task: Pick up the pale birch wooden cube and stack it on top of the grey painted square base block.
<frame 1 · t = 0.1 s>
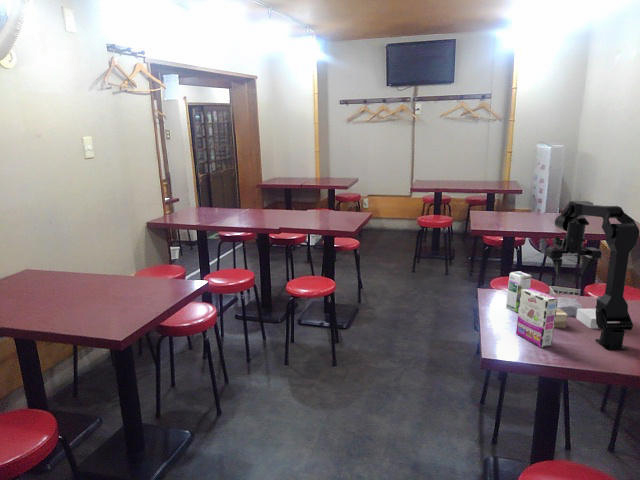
hand: (569, 274, 169), 15 cm above the table, tool pointing down, fingers open, 9 cm apart
syrup box: (516, 309, 175), on the table
stone block: (564, 311, 174), on the table
base block: (595, 323, 162), on the table
candy bar box: (533, 340, 150), on the table
birch cube: (555, 324, 161), on the table
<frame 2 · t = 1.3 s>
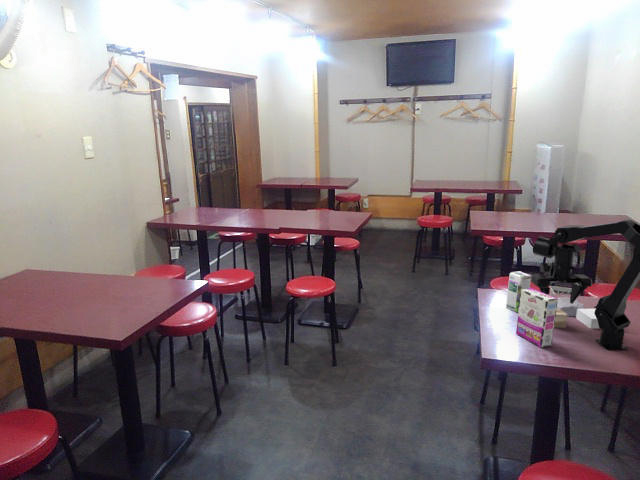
hand: (558, 303, 159), 8 cm above the table, tool pointing down, fingers open, 9 cm apart
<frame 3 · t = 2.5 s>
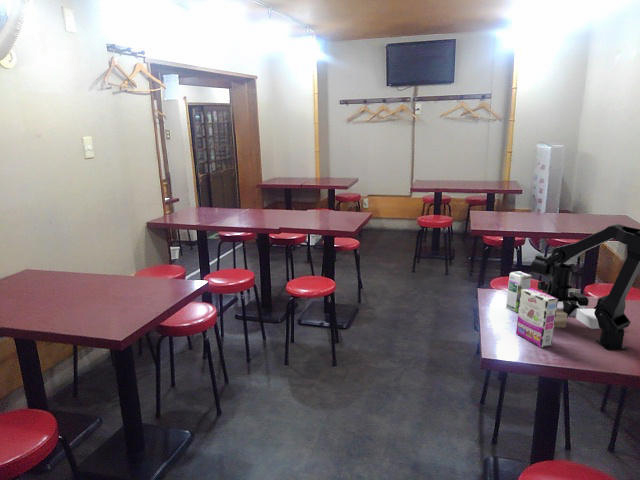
hand: (555, 321, 161), 1 cm above the table, tool pointing down, fingers closed on birch cube, 5 cm apart
birch cube: (555, 324, 161), on the table, touching gripper
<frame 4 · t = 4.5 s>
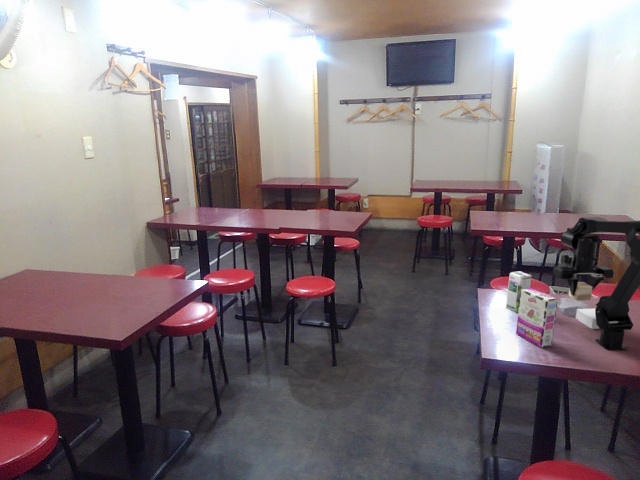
hand: (580, 295, 159), 11 cm above the table, tool pointing down, fingers closed on birch cube, 5 cm apart
birch cube: (579, 297, 159), point 10 cm above the table, touching gripper
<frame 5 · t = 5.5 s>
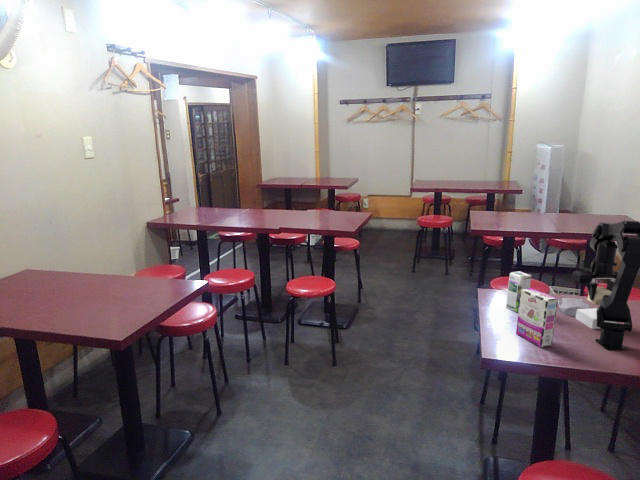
hand: (598, 299, 160), 9 cm above the table, tool pointing down, fingers closed on birch cube, 5 cm apart
birch cube: (598, 302, 160), point 8 cm above the table, touching gripper
when the fingers open (6 cm above the table, at t = 6.5 s): birch cube drops 1 cm, resting on base block.
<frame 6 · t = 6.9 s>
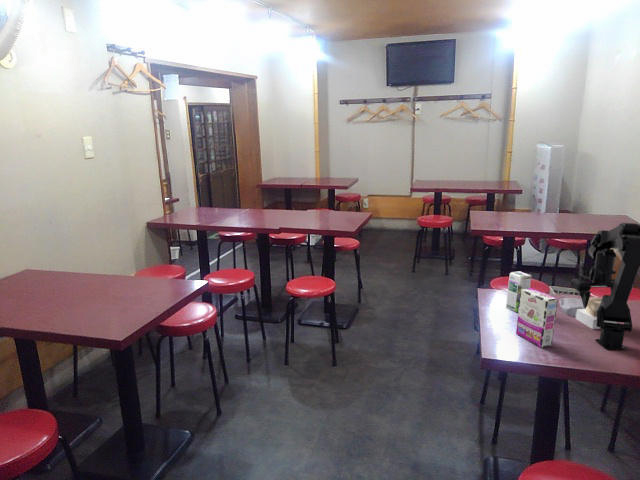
hand: (597, 307, 161), 6 cm above the table, tool pointing down, fingers open, 9 cm apart
base block: (595, 324, 162), on the table, touching birch cube
birch cube: (596, 313, 161), point 4 cm above the table, touching base block
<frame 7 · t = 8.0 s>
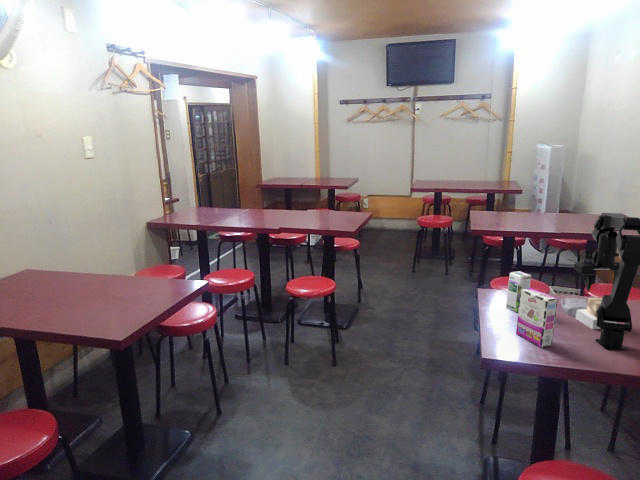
hand: (600, 290, 160), 12 cm above the table, tool pointing down, fingers open, 9 cm apart
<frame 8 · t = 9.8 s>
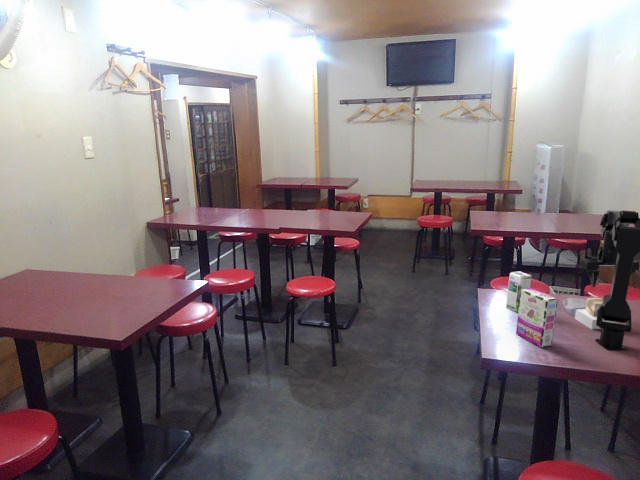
hand: (605, 286, 164), 12 cm above the table, tool pointing down, fingers open, 9 cm apart
at the end: birch cube 0.3 cm off-centre on the base block, point 4.0 cm above the base block's base; birch cube tilted 0°; the gripper is holding nothing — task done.
